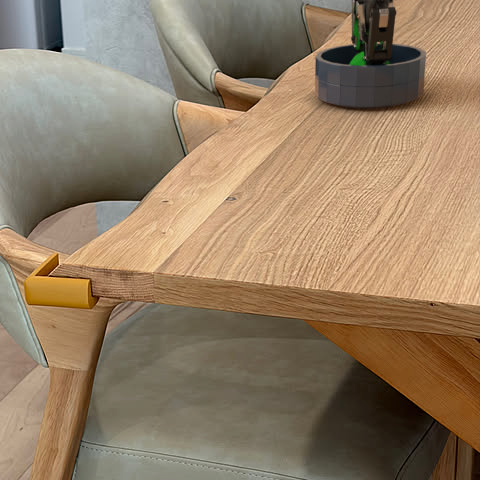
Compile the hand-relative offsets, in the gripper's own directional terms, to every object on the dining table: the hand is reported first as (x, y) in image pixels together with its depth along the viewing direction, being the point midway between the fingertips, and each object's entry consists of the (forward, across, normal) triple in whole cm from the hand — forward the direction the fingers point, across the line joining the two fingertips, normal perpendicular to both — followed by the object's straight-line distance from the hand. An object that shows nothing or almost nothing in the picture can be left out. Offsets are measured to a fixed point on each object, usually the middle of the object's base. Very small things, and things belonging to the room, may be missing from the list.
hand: (368, 89), depth 107 cm
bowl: (+1, 0, 0) cm, 1 cm away
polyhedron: (+1, 0, 0) cm, 1 cm away
